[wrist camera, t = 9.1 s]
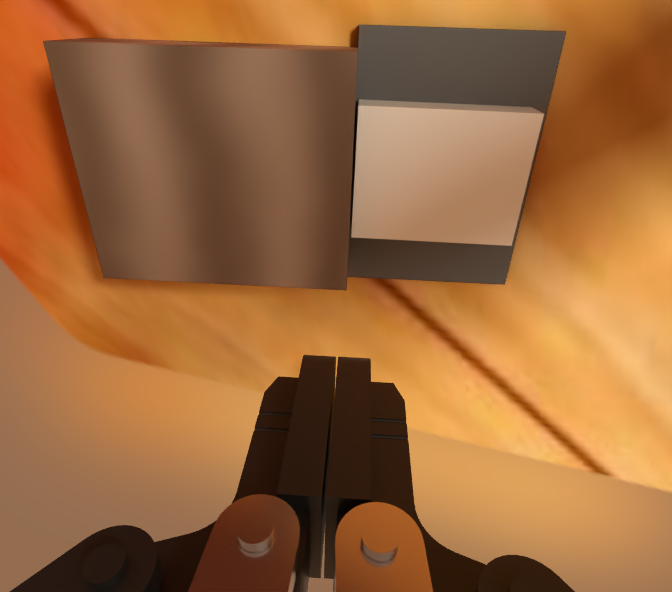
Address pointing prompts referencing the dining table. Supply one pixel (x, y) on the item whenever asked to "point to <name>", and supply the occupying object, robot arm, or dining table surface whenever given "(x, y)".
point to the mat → (456, 88)
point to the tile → (442, 170)
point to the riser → (212, 157)
